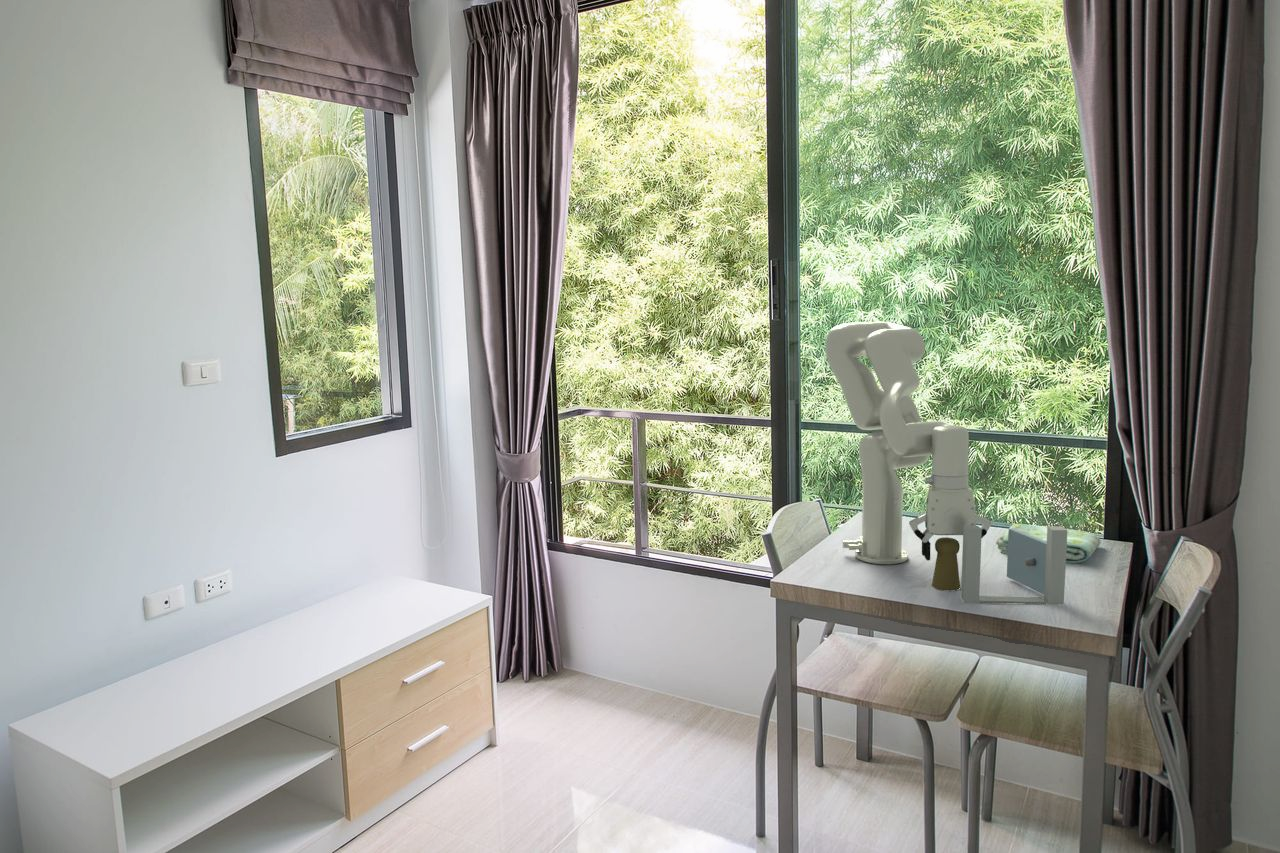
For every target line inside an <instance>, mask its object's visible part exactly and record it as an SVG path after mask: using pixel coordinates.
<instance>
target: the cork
mask: <svg viewBox="0 0 1280 853" xmlns="http://www.w3.org/2000/svg"><path fill="white" fill-rule="evenodd" d="M960 547H961V546H960V542H959V541H958V540H957V538H953V537H948V536H947V537H939V538H937V539H936V540H935V543H934V550H935V552H936V553H937V554H936V559H935V564H934V565H935V566H934V570H933V575H932V576H933V577H932V582H931V583H932V584H931V587H932V586H933V587H932V588H934V589H935V588H936V590H939V591H944V590H949V591H948V592H952V591H951V590H955V591H958V590H957V589H959V588H960V589H961V581H960V580H961V579H960V571H959V564H958V553H959V552H960ZM960 589H959V590H960Z"/></svg>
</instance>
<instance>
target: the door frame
mask: <svg viewBox="0 0 1280 853" xmlns="http://www.w3.org/2000/svg"><path fill="white" fill-rule="evenodd" d="M1046 526H1047V545H1046V566H1045V587H1044V595H1043V597H1041V596H1003V595H997V596H996V595H993V596H991V595H980V591H981V590H980V589H981V586H980V585H981V563H982V562H981V558H982V557H981V556H982V539H981V536H982V529H981V527H980V526H979V525H976V526H963V535H962V556H961V557H962V558H961V562H962V563H961V581H960V589H961V591H960V599H961V600H962V602H963V601H964V602H963V603H964V604H1001V603H1003V604H1004V603H1025V604H1024V605H1047V604H1048V605H1058V604H1065V603H1064V602H1065V588H1066V587H1065V586H1066V567H1067V563H1066V550H1067V531H1068V530H1067V529H1068V528H1065V527H1064V526H1062V525H1061V526H1060V525H1059V526H1056V525H1053V526H1052V525H1049V526H1048V525H1046ZM1046 601H1047V602H1046Z"/></svg>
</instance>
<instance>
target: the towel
mask: <svg viewBox="0 0 1280 853" xmlns="http://www.w3.org/2000/svg"><path fill="white" fill-rule="evenodd" d="M1047 526H1048V525H1034V524H1024V523H1013V524H1012V525H1011V526H1010V527H1009V528H1008V529H1007V531H1005V532H1004V533H1002V534H1001V535H1000V536H999V537H998V538H997V539H996V545H997V549H998V550H999V551H1000V552H1002V554H1004V553H1007V554H1006V555H1008V533H1009V529H1011V528H1014V529H1016V530H1019V531H1021V532H1024V533H1026V534H1029V535H1031V536H1034V537H1036V538H1039V539H1041V540H1044V541H1046V542H1047ZM1066 529H1067V530H1068V531H1067V550H1066V564H1078V563H1079V564H1080V563H1083V562H1085V561H1087V560H1088V559H1089V558H1091V557H1092V555H1093V553H1094V552H1095V551H1096V550H1097V549H1098V548H1099V546H1100V544H1101V539H1100V537H1099V536H1097V534H1094V533H1091V532H1089V531H1085V530H1080V529H1079V530H1078V529H1070V528H1066Z"/></svg>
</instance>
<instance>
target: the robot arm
mask: <svg viewBox="0 0 1280 853" xmlns="http://www.w3.org/2000/svg"><path fill="white" fill-rule="evenodd" d="M824 346H825V347H824V348H825V350H824V351H825V356H826V359H827V360H826V361H827V363H828V365H829V367H830V370H831V371H832V373H833V374H834V376H835V378H836V379H837V382H838V383H839V386H840V388H841V391H842V394H843V396H844V399H845V403H846V404H847V407H848V409H849V412H850V416H851V418H852V420H853V423H854V424H855V426H856V427H857V428H858V429H860V430H862V431H873V432H871V433H867V434H866V435H864V436H863V438H862V439H861V441H860V442H859V444H858V454H859V463H860V468H861V478H862V479H861V480H862V511H861V512H862V514H861V516H862V517H861V518H862V520H861V521H862V522H861V527H862V528H861V535H860V536H859V539H855V540H845V539H843V540H842V548H843V549H848V551H855V552H854V555H855V556H854V557H856V559H858V560H860V561H862V562H865V563H869V564H877V565H894V564H900V563H904V562H906V561H908V559H909V554H908V551H906V550H904V549H902V546H903V545H902V544H903V508H904V507H903V504H904V503H903V499H904V495H903V494H904V489H903V485H902V482H901V480H900V478H899V476H898V475H897V473H896V470H899V469H907V468H915V467H920V466H922V465H924V464H926V463H927V461H928V460H929V458H930V456H931V461H932V462H931V474H930V476H928V477H925V479H924V482H925V484H927V485H930V486H931V487H929V488H928V490H927V491H928V492H927V496H926V503H925V513H923V514H922V515H919V516H917V517H915V518H914V519H911V520H909V521H908V522H909V523H908V524H909V526H910V529H911V530H912V531H913V533H914V535H915V536H916V537H917V538H918V539H919V540H921V555H922V556H924V559H925V560H926V561H931V542H930V539H931V538H932V537H933V536H963V526H977V522H978V523H980V524H982V525H981V527H980V528H981V529H982V536H981V540H982V539H983V538H984V537H985V536H986V534H988V531H989V529H990V527H991V526H992V521H990V519H987V518H985V517H983V516H982V515H979V514H977V513H976V504H975V496H974V490H973V489H972V488H971V487H969V452H970V451H969V449H970V448H969V447H970V446H969V443H970V442H969V441H970V440H969V437H970V436H969V431H968V429H967V428H966V427H964V426H962V425H951V424H948V423H945V422H943V421H935V420H934V421H922V418H921V416H920V414H919V411H918V409H917V406H916V404H915V402H914V400H913V398H912V397H911V396H910V395H912V394H913V393H914V392H915V391H916V390H918V387H919V386H920V384H921V382H920V381H921V380H920V376H919V375H918V373H917V371H916V369H915V367H914V363H917V362H919V361H921V359H922V358H923V357H924V355H925V351H926V343H925V340H924V338H923V336H922V335H921V333H920V332H919V331H917V330H916V329H915V328H913V327H909V326H905V325H900V324H897V323H895V322H893V323H892V322H889V321H867V322H850V323H849V322H848V323H842V324H839V325H836V326H833V327H832V328H831V329H830V330H829V332H828V333H827V335H826V339H825V345H824ZM858 357H867V359H868V360H869V363H870V365H871V367H872V370H873V371H874V373H875V375H876V377H877V380H878V382H879V384H880V386H881V388H882V389H881V388H880V387H879V385H878V383H877V380H876V377H875V375H874V374H873V372H872V371H871V370H870V368H869V367H868V366H867V365H866V364H865V363H863V362H862V361H861V360H859V358H858ZM875 430H876V431H875ZM877 430H878V431H877ZM922 523H924V525H925V528H926V529H924V531H921V530H920V529H919V527H918V526H919V525H920V524H922Z"/></svg>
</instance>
